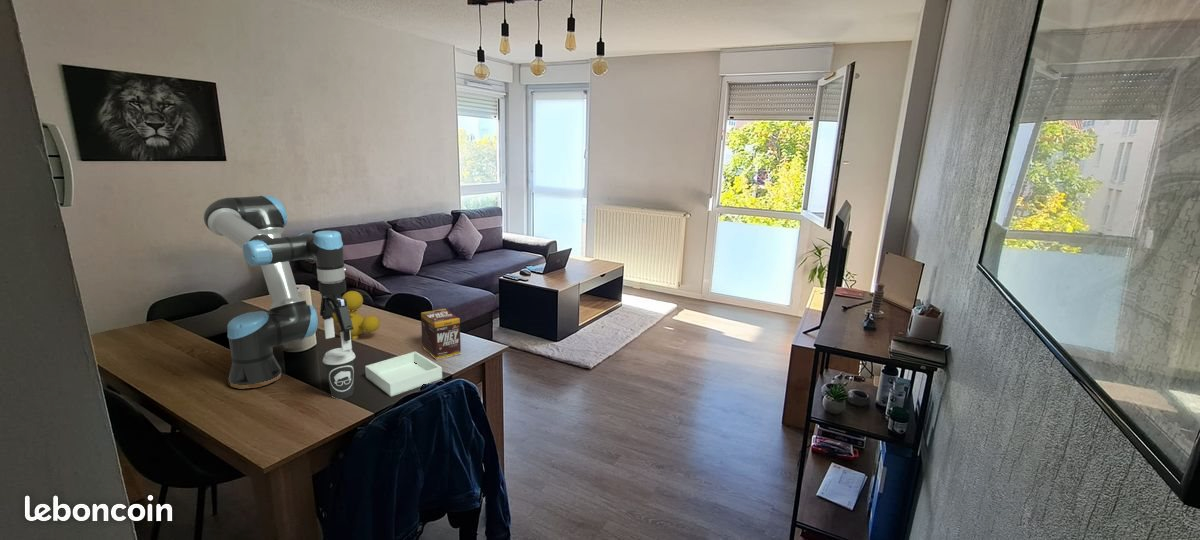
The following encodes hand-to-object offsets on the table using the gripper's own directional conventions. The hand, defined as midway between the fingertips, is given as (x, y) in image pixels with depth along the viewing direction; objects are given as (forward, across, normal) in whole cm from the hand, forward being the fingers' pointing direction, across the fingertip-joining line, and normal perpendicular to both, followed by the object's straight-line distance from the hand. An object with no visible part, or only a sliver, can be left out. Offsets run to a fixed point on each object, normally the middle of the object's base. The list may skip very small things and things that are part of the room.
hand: (338, 343), depth 158 cm
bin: (+18, -3, -20) cm, 27 cm away
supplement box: (+18, +9, -42) cm, 47 cm away
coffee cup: (+18, 0, 0) cm, 18 cm away
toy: (+18, +48, -23) cm, 57 cm away
